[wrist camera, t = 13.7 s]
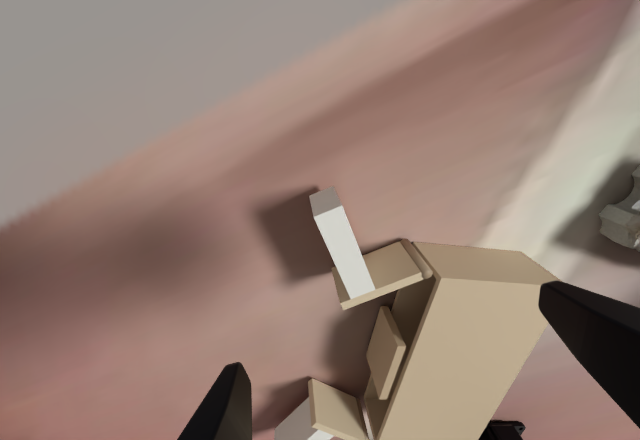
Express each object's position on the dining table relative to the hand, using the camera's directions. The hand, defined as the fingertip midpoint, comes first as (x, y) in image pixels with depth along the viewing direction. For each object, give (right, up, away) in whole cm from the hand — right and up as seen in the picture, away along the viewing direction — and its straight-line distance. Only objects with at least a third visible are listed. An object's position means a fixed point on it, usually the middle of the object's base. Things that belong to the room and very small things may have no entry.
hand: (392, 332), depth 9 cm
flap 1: (-3, -14, +19) cm, 24 cm away
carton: (+8, -6, +17) cm, 20 cm away
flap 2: (0, +3, +12) cm, 12 cm away
